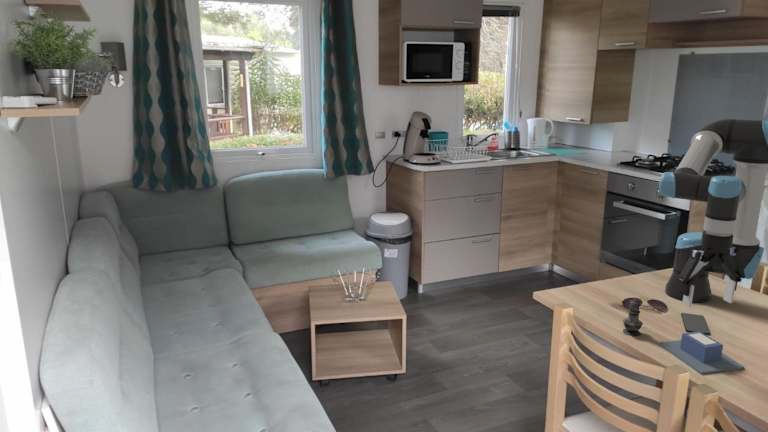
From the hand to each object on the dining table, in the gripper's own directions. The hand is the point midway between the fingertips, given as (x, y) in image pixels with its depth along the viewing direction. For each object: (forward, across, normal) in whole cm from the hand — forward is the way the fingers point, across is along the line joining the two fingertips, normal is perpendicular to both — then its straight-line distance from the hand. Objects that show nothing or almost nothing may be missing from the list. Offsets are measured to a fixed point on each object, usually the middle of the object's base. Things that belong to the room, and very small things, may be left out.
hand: (707, 303), depth 167 cm
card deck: (+16, 0, 0) cm, 16 cm away
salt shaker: (+17, +10, -18) cm, 27 cm away
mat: (+16, 0, 0) cm, 17 cm away
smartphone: (+17, -14, -19) cm, 29 cm away
